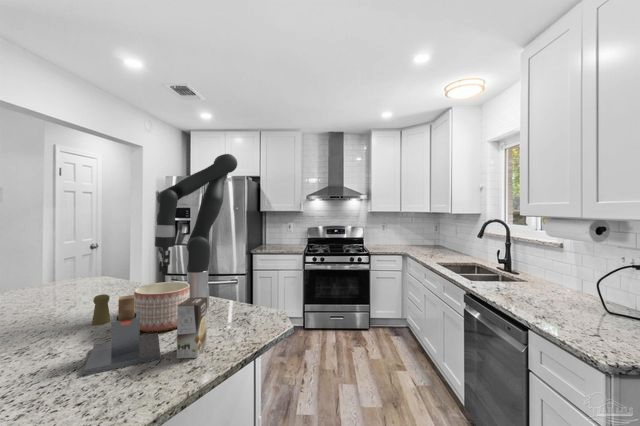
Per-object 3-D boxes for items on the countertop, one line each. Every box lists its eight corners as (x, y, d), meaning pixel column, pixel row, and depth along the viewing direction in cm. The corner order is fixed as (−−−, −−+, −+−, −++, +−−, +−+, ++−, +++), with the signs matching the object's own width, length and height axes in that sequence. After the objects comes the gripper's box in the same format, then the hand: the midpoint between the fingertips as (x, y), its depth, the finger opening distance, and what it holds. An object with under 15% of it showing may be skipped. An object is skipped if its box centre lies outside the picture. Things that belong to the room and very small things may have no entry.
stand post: (134, 344, 92) (135, 294, 92) (134, 349, 89) (134, 298, 89) (118, 347, 90) (119, 296, 90) (117, 352, 86) (117, 300, 87)
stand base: (158, 336, 102) (158, 304, 102) (160, 358, 86) (160, 320, 87) (94, 348, 92) (94, 313, 92) (84, 375, 77) (84, 333, 77)
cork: (100, 325, 111) (100, 297, 111) (87, 324, 112) (88, 296, 113) (114, 320, 117) (114, 293, 117) (102, 319, 118) (102, 292, 118)
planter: (199, 319, 119) (200, 283, 119) (160, 338, 101) (160, 296, 101) (164, 313, 125) (164, 280, 125) (121, 330, 107) (122, 291, 107)
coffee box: (197, 358, 87) (198, 305, 87) (176, 359, 86) (176, 305, 86) (207, 344, 96) (207, 296, 96) (187, 345, 95) (188, 297, 96)
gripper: (177, 236, 121) (175, 275, 120) (171, 234, 132) (169, 269, 132) (157, 236, 116) (155, 276, 116) (153, 234, 128) (151, 271, 127)
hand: (163, 273), depth 124 cm, fingers open, 8 cm apart
